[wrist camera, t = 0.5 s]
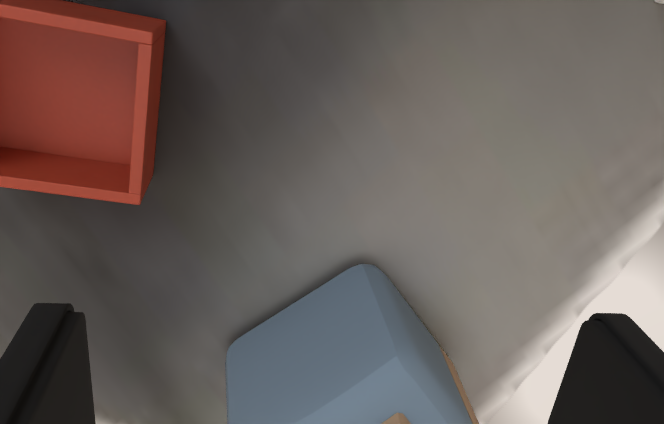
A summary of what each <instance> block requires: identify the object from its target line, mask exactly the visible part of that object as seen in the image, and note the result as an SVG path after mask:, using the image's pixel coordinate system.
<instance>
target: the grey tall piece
mask: <svg viewBox="0 0 664 424" xmlns="http://www.w3.org/2000/svg"><path fill="white" fill-rule="evenodd" d="M654 1H655V2H656V3H661V4H664V0H654Z"/></svg>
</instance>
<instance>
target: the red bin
mask: <svg viewBox="0 0 664 424" xmlns="http://www.w3.org/2000/svg"><path fill="white" fill-rule="evenodd" d="M165 29H166V20H161V19H156V18H151V17H146V16H141V15H135V14H130V13H125V12H120V11H115V10H109V9H104V8H99V7H94V6H89V5H83V4H78V3H73V2H68V1H63V0H0V187H7V188H15V189H22V190H30V191H37V192H45V193H52V194H60V195H67V196H75V197H83V198H90V199H98V200H105V201H113V202H120V203H128V204H135V205H140V204H141V201H142V199H143V197H144V194H145V192H146V190H147V188H148V185H149V183H150V181H151V179H152V176H153V171H154V159H155V147H156V135H157V124H158V112H159V100H160V88H161V76H162V64H163V52H164V41H165Z"/></svg>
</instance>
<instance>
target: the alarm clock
mask: <svg viewBox="0 0 664 424" xmlns="http://www.w3.org/2000/svg"><path fill="white" fill-rule="evenodd" d="M225 370H226V398H227V424H479V423H478V420H477V418H476V416H475V413H474V411H473V409H472V406H471V404H470V402H469V399H468V397H467V395H466V392H465V390H464V388H463V386H462V383H461V381H460V379H459V376H458V374H457V372H456V369H455V367H454V365H453V363H452V362H451V360H450V359H449V358H448V356H447V355H446V354H445V352H444V351H443V350H442V348H441V347H440V346H439V344H438V343H437V342H436V340H435V339H434V338H433V336H432V335H431V334H430V332H429V331H428V330H427V329H426V327H425V326H424V325H423V323H422V322H421V321H420V319H419V318H418V317H417V315H416V314H415V313H414V311H413V310H412V309H411V307H410V306H409V305H408V303H407V302H406V301H405V299H404V298H403V297H402V295H401V294H400V293H399V291H398V290H397V289H396V288H395V286H394V285H393V284H392V282H391V281H390V280H389V278H388V277H387V276H386V275H385V274H384V273H383V272H382V271H381V270H380V269H379V268H377V267H376V266H375V265H369V264H359V265H356V266H353V267H351V268H349V269H347V270H346V271H344V272H342V273H341V274H339V275H338V276H336V277H334V278H333V279H331V280H330V281H328V282H327V283H325V284H323V285H322V286H320V287H319V288H317V289H315V290H314V291H312V292H311V293H309V294H308V295H306V296H304V297H303V298H301V299H300V300H298V301H296V302H295V303H293V304H292V305H290V306H288V307H287V308H285V309H284V310H282V311H281V312H279V313H277V314H276V315H274V316H273V317H271V318H269V319H268V320H266V321H265V322H263V323H261V324H260V325H258V326H257V327H255V328H254V329H252V330H250V331H249V332H247V333H246V334H244V335H242V336H241V337H239V338H238V339H236V340H235V341H234V342H233V343H232V344H231V345H230V347H229V349H228V352H227V356H226V363H225Z"/></svg>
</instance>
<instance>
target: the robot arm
mask: <svg viewBox="0 0 664 424" xmlns="http://www.w3.org/2000/svg"><path fill="white" fill-rule="evenodd" d="M0 424H95V414H94V404H93V394H92V383H91V373H90V363H89V352H88V342H87V331H86V321H85V315H84V313H82V312H74V308H73V306H72V305H71V304H58V303H36V304H34V305H33V307H32V308H31V310H30V311H29V313H28V315H27V316H26V318H25V319H24V321H23V323H22V324H21V326H20V328H19V329H18V331H17V333H16V334H15V336H14V338H13V339H12V341H11V343H10V344H9V346H8V347H7V349H6V351H5V352H4V354H3V356H2V357H1V359H0ZM548 424H664V352H663V351H662V350H661V349H660V348H659V347H658V346H657V345H656V344H655V343H654V342H653V341H652V340H651V339H650V338H649V337H648V336H647V335H646V334H645V333H644V332H643V331H642V329H641V328H639V326H638V325H637V324H636V323H635V322H634V321H633V320H632V319H631V318H630V317H628V316H627V315H625V314H615V313H614V314H613V313H612V314H611V313H596V314H593V315H592V316H591V317H590V318H589V320H588V321H585V322H584V323H583V324H582V325H581V328H580V330H579V333H578V336H577V339H576V342H575V346H574V348H573V351H572V354H571V357H570V359H569V363H568V365H567V368H566V371H565V374H564V377H563V380H562V383H561V386H560V389H559V392H558V394H557V397H556V400H555V403H554V406H553V409H552V412H551V415H550V418H549V420H548Z"/></svg>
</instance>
